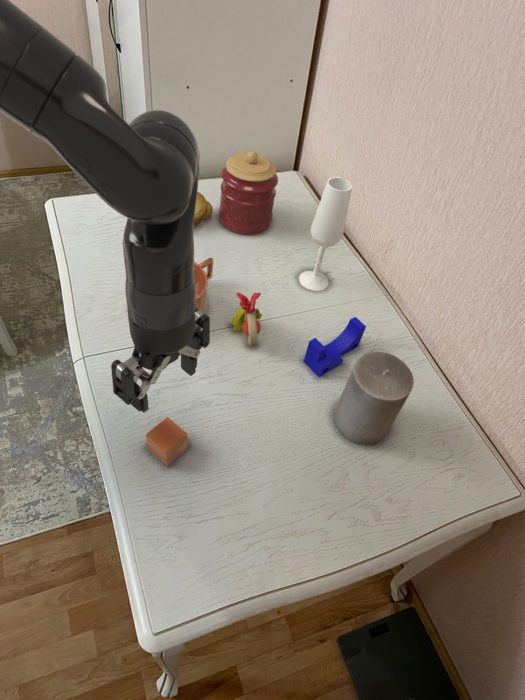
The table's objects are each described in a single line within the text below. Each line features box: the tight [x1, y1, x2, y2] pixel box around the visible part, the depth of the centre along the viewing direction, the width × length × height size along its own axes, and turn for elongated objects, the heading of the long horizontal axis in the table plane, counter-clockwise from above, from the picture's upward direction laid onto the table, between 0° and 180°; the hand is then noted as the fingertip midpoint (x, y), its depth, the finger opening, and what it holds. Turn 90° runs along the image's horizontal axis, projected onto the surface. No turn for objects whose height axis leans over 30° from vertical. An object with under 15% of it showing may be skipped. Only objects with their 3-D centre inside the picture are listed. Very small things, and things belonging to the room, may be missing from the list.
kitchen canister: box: [218, 150, 279, 236], centre depth 117 cm, size 13×13×18 cm
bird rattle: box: [230, 292, 263, 347], centre depth 95 cm, size 6×11×9 cm
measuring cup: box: [194, 257, 214, 314], centre depth 99 cm, size 19×14×8 cm
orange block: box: [145, 416, 188, 467], centre depth 79 cm, size 4×4×4 cm
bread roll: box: [193, 191, 214, 227], centre depth 117 cm, size 13×10×8 cm
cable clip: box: [303, 316, 367, 378], centre depth 96 cm, size 12×4×6 cm, turn 128°
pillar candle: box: [333, 350, 415, 446], centre depth 83 cm, size 10×10×15 cm
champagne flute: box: [298, 176, 353, 292], centre depth 103 cm, size 7×7×24 cm
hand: (165, 388), depth 68 cm, fingers open, 8 cm apart
